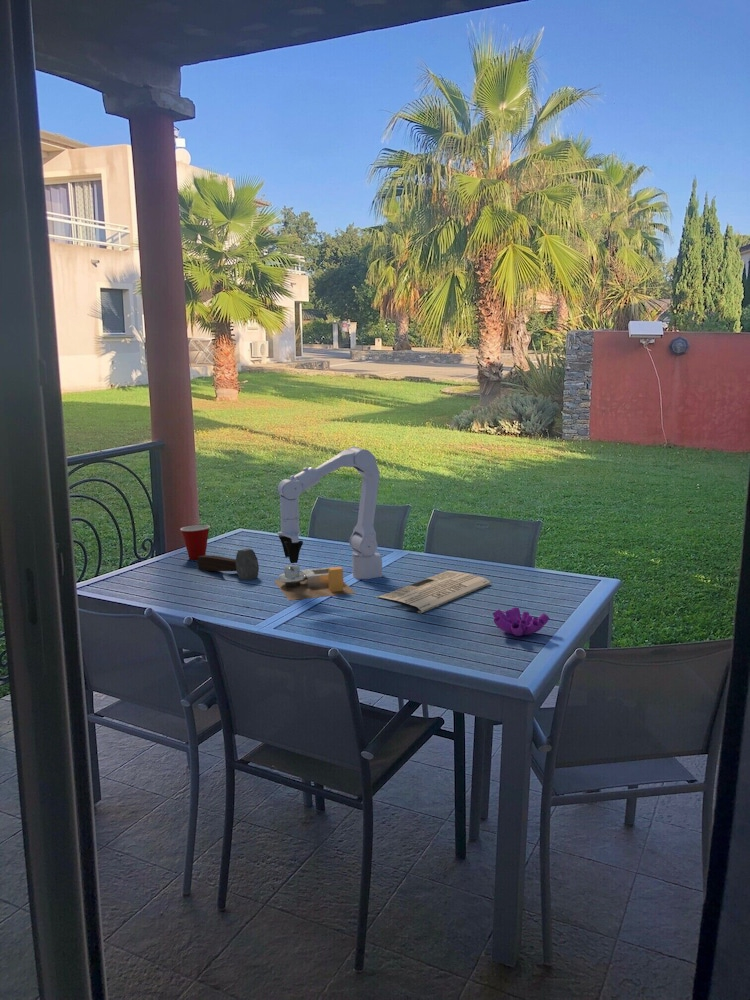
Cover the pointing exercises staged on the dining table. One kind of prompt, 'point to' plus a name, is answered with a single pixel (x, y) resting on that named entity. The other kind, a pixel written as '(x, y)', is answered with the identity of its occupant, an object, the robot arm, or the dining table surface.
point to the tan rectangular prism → (335, 579)
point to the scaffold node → (304, 576)
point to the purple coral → (519, 622)
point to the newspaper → (437, 590)
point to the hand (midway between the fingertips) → (291, 559)
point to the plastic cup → (196, 540)
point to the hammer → (232, 564)
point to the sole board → (310, 591)
